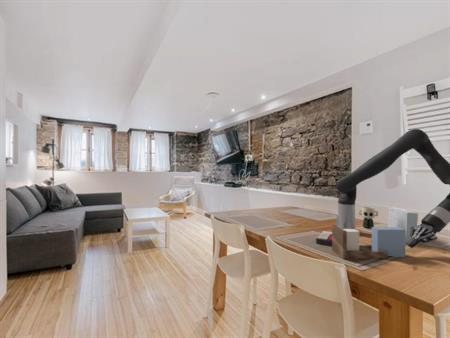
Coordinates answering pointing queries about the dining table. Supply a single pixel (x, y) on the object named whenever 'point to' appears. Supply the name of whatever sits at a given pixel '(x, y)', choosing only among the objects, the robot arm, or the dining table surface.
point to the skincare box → (402, 220)
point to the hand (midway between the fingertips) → (409, 246)
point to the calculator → (324, 238)
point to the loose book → (389, 240)
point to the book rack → (341, 249)
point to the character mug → (368, 216)
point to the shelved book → (352, 240)
